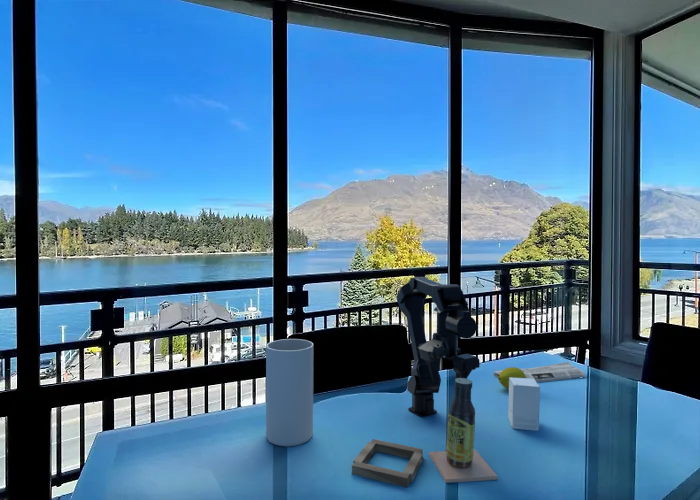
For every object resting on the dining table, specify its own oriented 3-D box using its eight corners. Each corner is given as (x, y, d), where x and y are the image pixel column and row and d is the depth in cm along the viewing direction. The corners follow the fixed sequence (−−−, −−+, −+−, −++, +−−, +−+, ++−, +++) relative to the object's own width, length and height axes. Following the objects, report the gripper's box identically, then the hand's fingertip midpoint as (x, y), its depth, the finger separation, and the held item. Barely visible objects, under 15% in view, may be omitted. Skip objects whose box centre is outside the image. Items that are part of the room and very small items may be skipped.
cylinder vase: (320, 430, 120) (320, 341, 119) (300, 451, 109) (301, 353, 108) (280, 423, 124) (280, 337, 124) (257, 443, 113) (257, 348, 112)
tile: (429, 455, 107) (429, 452, 107) (475, 452, 109) (475, 449, 109) (445, 482, 95) (445, 479, 95) (497, 479, 97) (497, 476, 97)
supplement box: (539, 431, 121) (540, 387, 120) (511, 428, 122) (512, 384, 122) (533, 420, 128) (534, 378, 127) (507, 418, 129) (508, 376, 129)
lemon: (519, 385, 158) (520, 363, 158) (532, 393, 150) (532, 370, 150) (492, 386, 156) (492, 365, 156) (503, 394, 148) (503, 371, 148)
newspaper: (510, 386, 158) (510, 377, 158) (490, 375, 170) (490, 366, 170) (588, 378, 167) (589, 369, 167) (565, 369, 179) (565, 360, 179)
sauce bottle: (440, 460, 103) (441, 378, 102) (458, 453, 107) (459, 373, 106) (462, 473, 98) (463, 386, 97) (479, 465, 101) (481, 381, 101)
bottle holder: (371, 446, 112) (371, 438, 111) (424, 457, 106) (424, 449, 106) (349, 473, 99) (349, 464, 99) (409, 488, 93) (409, 478, 93)
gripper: (402, 326, 122) (402, 381, 123) (450, 340, 106) (449, 403, 107) (432, 322, 128) (431, 374, 129) (481, 335, 112) (480, 394, 113)
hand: (446, 386), depth 119 cm, fingers open, 9 cm apart
